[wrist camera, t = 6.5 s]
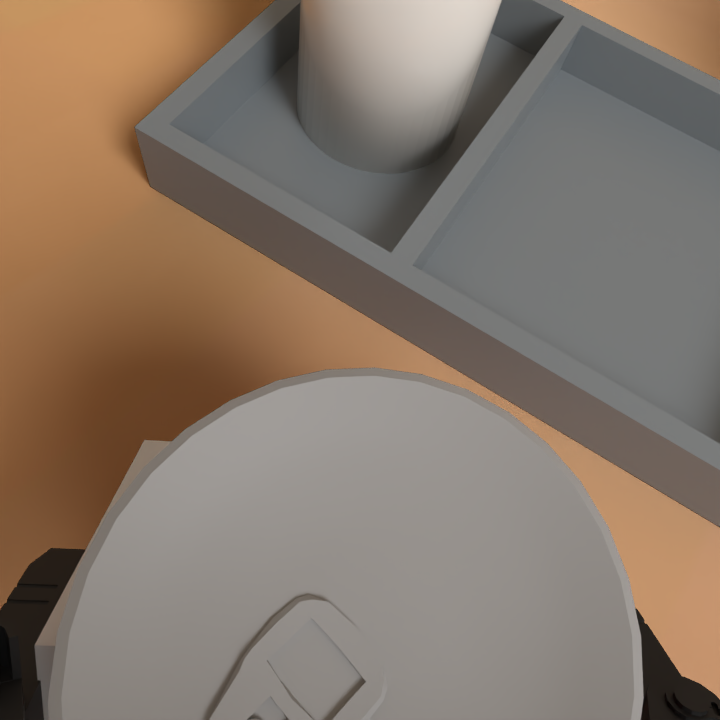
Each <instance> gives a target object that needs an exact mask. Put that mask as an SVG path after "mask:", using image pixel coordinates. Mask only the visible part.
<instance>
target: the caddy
mask: <svg viewBox="0 0 720 720" xmlns="http://www.w3.org/2000/svg"><path fill="white" fill-rule="evenodd" d="M300 6H301V0H275V1H274V2H273V3H272V4H270V5H269V6H268V7H267V8H266V9H265V10H264V11H263V12H262V13H260V14H259V15H258V16H257V17H256V18H255V19H254V20H253V21H252V22H250V23H249V24H248V25H247V26H246V27H245V28H244V29H243V30H242V31H240V32H239V33H238V34H237V35H236V36H235V37H234V38H233V39H232V40H230V41H229V42H228V43H227V44H226V45H225V46H224V47H223V48H222V49H220V50H219V51H218V52H217V53H216V54H215V55H214V56H213V57H212V58H210V59H209V60H208V61H207V62H206V63H205V64H204V65H203V66H202V67H200V68H199V69H198V70H197V71H196V72H195V73H194V74H193V75H192V76H191V77H189V78H188V79H187V80H186V81H185V82H184V83H183V84H182V85H181V86H179V87H178V88H177V89H176V90H175V91H174V92H173V93H172V94H171V95H169V96H168V97H167V98H166V99H165V100H164V101H163V102H162V103H161V104H159V105H158V106H157V107H156V108H155V109H154V110H153V111H152V112H151V113H149V114H148V115H147V116H146V117H145V118H144V119H143V120H142V121H141V122H139V123H138V124H137V125H136V126H135V127H134V128H135V132H136V135H137V139H138V143H139V146H140V150H141V154H142V158H143V161H144V165H145V169H146V173H147V176H148V180H149V184H150V187H152V188H154V189H155V190H157V191H159V192H160V193H162V194H164V195H165V196H167V197H169V198H170V199H172V200H174V201H176V202H177V203H179V204H181V205H182V206H184V207H186V208H187V209H189V210H191V211H192V212H194V213H196V214H197V215H199V216H201V217H202V218H204V219H206V220H207V221H209V222H211V223H212V224H214V225H216V226H217V227H219V228H221V229H222V230H224V231H226V232H227V233H229V234H231V235H232V236H234V237H236V238H237V239H239V240H241V241H242V242H244V243H246V244H247V245H249V246H251V247H252V248H254V249H256V250H257V251H259V252H261V253H262V254H264V255H266V256H267V257H269V258H271V259H272V260H274V261H276V262H277V263H279V264H281V265H282V266H284V267H286V268H288V269H289V270H291V271H293V272H294V273H296V274H298V275H299V276H301V277H303V278H304V279H306V280H308V281H309V282H311V283H313V284H314V285H316V286H318V287H319V288H321V289H323V290H324V291H326V292H328V293H329V294H331V295H333V296H334V297H336V298H338V299H339V300H341V301H343V302H344V303H346V304H348V305H349V306H351V307H353V308H354V309H356V310H358V311H359V312H361V313H363V314H364V315H366V316H368V317H369V318H371V319H373V320H374V321H376V322H378V323H379V324H381V325H383V326H384V327H386V328H388V329H389V330H391V331H393V332H394V333H396V334H398V335H400V336H401V337H403V338H405V339H406V340H408V341H410V342H411V343H413V344H415V345H416V346H418V347H420V348H421V349H423V350H425V351H426V352H428V353H430V354H431V355H433V356H435V357H436V358H438V359H440V360H441V361H443V362H445V363H446V364H448V365H450V366H451V367H453V368H455V369H456V370H458V371H460V372H461V373H463V374H465V375H466V376H468V377H470V378H471V379H473V380H475V381H476V382H478V383H480V384H481V385H483V386H485V387H486V388H488V389H490V390H491V391H493V392H495V393H496V394H498V395H500V396H501V397H503V398H505V399H506V400H508V401H510V402H512V403H513V404H515V405H517V406H518V407H520V408H522V409H523V410H525V411H527V412H528V413H530V414H532V415H533V416H535V417H537V418H538V419H540V420H542V421H543V422H545V423H547V424H548V425H550V426H552V427H553V428H555V429H557V430H558V431H560V432H562V433H563V434H565V435H567V436H568V437H570V438H572V439H573V440H575V441H577V442H578V443H580V444H582V445H583V446H585V447H587V448H588V449H590V450H592V451H593V452H595V453H597V454H598V455H600V456H602V457H603V458H605V459H607V460H608V461H610V462H612V463H613V464H615V465H617V466H618V467H620V468H622V469H623V470H625V471H627V472H629V473H630V474H632V475H634V476H635V477H637V478H639V479H640V480H642V481H644V482H645V483H647V484H649V485H650V486H652V487H654V488H655V489H657V490H659V491H660V492H662V493H664V494H665V495H667V496H669V497H670V498H672V499H674V500H675V501H677V502H679V503H680V504H682V505H684V506H685V507H687V508H689V509H690V510H692V511H694V512H695V513H697V514H699V515H700V516H702V517H704V518H705V519H707V520H709V521H710V522H712V523H714V524H715V525H717V526H719V527H720V80H718V79H716V78H714V77H712V76H710V75H708V74H706V73H704V72H702V71H700V70H698V69H696V68H694V67H692V66H690V65H688V64H686V63H684V62H682V61H680V60H678V59H676V58H674V57H672V56H670V55H668V54H666V53H664V52H662V51H660V50H658V49H656V48H654V47H652V46H650V45H648V44H646V43H644V42H642V41H640V40H638V39H636V38H634V37H632V36H630V35H628V34H626V33H624V32H622V31H620V30H618V29H616V28H614V27H612V26H610V25H608V24H606V23H604V22H602V21H600V20H598V19H596V18H595V17H593V16H591V15H589V14H587V13H585V12H583V11H581V10H579V9H577V8H575V7H573V6H571V5H569V4H567V3H565V2H563V1H561V0H502V1H501V4H500V7H499V10H498V13H497V16H496V18H495V21H494V24H493V27H492V30H491V33H490V36H489V39H488V42H487V45H486V48H485V50H484V53H483V56H482V59H481V62H480V65H479V68H478V71H477V74H476V77H475V79H474V82H473V85H472V88H471V91H470V94H469V97H468V100H467V103H466V106H465V109H464V111H463V114H462V117H461V120H460V123H459V126H458V129H457V132H456V135H455V137H454V140H453V142H452V143H451V145H450V147H449V148H448V149H447V150H446V152H445V153H444V154H443V155H442V156H440V157H439V158H438V159H437V160H435V161H434V162H432V163H430V164H429V165H427V166H424V167H422V168H420V169H416V170H413V171H410V172H404V173H395V174H381V173H372V172H366V171H362V170H358V169H354V168H352V167H349V166H346V165H344V164H342V163H340V162H338V161H336V160H334V159H333V158H331V157H329V156H328V155H326V154H325V153H324V152H323V151H321V150H320V149H319V148H318V147H317V146H316V145H315V144H314V143H313V142H312V141H311V140H310V138H309V137H308V136H307V134H306V133H305V131H304V129H303V127H302V126H301V123H300V120H299V117H298V112H297V86H298V59H299V33H300Z"/></svg>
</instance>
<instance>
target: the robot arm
mask: <svg viewBox="0 0 720 720" xmlns="http://www.w3.org/2000/svg"><path fill="white" fill-rule="evenodd" d="M171 442H172V441H155V440H144V442H143V444H142V445H141V447H140V449H139V451H138V453H137V455H136V457H135V458H134V460H133V462H132V464H131V466H130V468H129V470H128V472H127V473H126V475H125V477H124V479H123V481H122V483H121V485H120V486H119V488H118V490H117V492H116V494H115V496H114V498H113V500H112V501H111V503H110V505H109V507H108V509H107V511H106V513H105V514H104V516H103V518H102V520H101V522H100V524H99V526H98V528H97V529H96V531H95V533H94V535H93V537H92V539H91V541H90V543H89V544H88V546H87V548H86V550H83V549H60V548H51V549H49V550H48V551H47V552H45V553H44V554H43V555H42V556H40V557H39V558H38V559H36V560H35V561H34V562H32V563H31V564H30V565H29V566H28V568H27V569H26V571H25V573H24V574H23V576H22V577H21V579H20V580H19V582H18V583H17V587H15V588H14V590H13V591H12V593H11V594H10V596H9V597H8V599H7V603H5V604H4V605H3V607H2V608H1V610H0V720H49V713H48V696H49V689H50V681H51V674H52V666H53V659H54V651H55V644H56V636H57V631H58V628H59V625H60V622H61V619H62V616H63V613H64V610H65V607H66V604H67V601H68V597H69V594H70V591H71V588H72V585H73V582H74V579H75V576H76V573H77V570H78V568H79V566H80V564H81V562H82V560H83V559H84V557H85V555H86V553H87V551H88V549H89V547H90V545H91V543H92V542H93V540H94V538H95V536H96V534H97V532H98V530H99V528H100V527H101V525H102V523H103V521H104V519H105V517H106V515H107V514H108V512H109V511H110V510H111V509H112V507H113V506H114V505H115V503H116V502H117V501H118V500H119V498H120V497H121V496H122V494H123V493H124V492H125V491H126V489H127V488H128V487H129V485H130V484H131V483H132V481H133V480H134V479H135V478H136V476H137V475H138V474H139V472H140V471H141V470H142V469H143V467H144V466H146V465H147V464H148V463H149V462H150V461H151V460H152V459H153V458H154V457H155V456H156V455H158V454H159V453H160V452H161V451H162V450H163V449H164V448H165V447H166V446H167V445H168V444H170V443H171ZM635 610H636V615H637V619H638V624H639V629H640V634H641V647H642V672H643V696H644V698H643V706H642V714H641V720H720V700H719V698H718V697H717V696H716V695H715V694H714V693H712V692H711V691H709V690H708V689H707V688H705V687H704V686H702V685H701V684H699V683H697V682H695V681H692V680H690V679H688V678H686V677H682V676H681V675H680V673H679V672H678V670H677V669H676V667H675V666H674V664H673V663H672V661H671V660H670V658H669V657H668V655H667V654H666V652H665V651H664V649H663V648H662V646H661V644H660V643H659V641H658V640H657V638H656V637H655V635H654V634H653V632H652V631H651V629H650V628H649V626H648V625H647V624H645V623H644V619H643V617H642V616H641V614H640V613H639V611H638V610H637V609H635Z"/></svg>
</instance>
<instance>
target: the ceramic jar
mask: <svg viewBox="0 0 720 720" xmlns="http://www.w3.org/2000/svg"><path fill="white" fill-rule="evenodd" d="M501 1H502V0H301V6H300V33H299V59H298V86H297V112H298V117H299V120H300V123H301V126H302V127H303V129H304V131H305V133H306V134H307V136H308V137H309V138H310V140H311V141H312V142H313V143H314V144H315V145H316V146H317V147H318V148H319V149H320V150H321V151H323V152H324V153H325V154H326V155H328V156H329V157H331V158H333V159H334V160H336V161H338V162H340V163H342V164H344V165H346V166H349V167H352V168H354V169H358V170H362V171H366V172H372V173H381V174H395V173H404V172H410V171H413V170H416V169H420V168H422V167H424V166H427V165H429V164H430V163H432V162H434V161H435V160H437V159H438V158H439V157H440V156H442V155H443V154H444V153H445V152H446V150H447V149H448V148H449V147H450V145H451V143H452V142H453V140H454V137H455V135H456V132H457V129H458V126H459V123H460V120H461V117H462V114H463V111H464V109H465V106H466V103H467V100H468V97H469V94H470V91H471V88H472V85H473V82H474V79H475V77H476V74H477V71H478V68H479V65H480V62H481V59H482V56H483V53H484V50H485V48H486V45H487V42H488V39H489V36H490V33H491V30H492V27H493V24H494V21H495V18H496V16H497V13H498V10H499V7H500V4H501Z"/></svg>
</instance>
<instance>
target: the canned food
mask: <svg viewBox="0 0 720 720" xmlns="http://www.w3.org/2000/svg"><path fill="white" fill-rule="evenodd" d="M643 698H644V696H643V672H642V647H641V634H640V629H639V624H638V619H637V615H636V610H635V605H634V601H633V596H632V591H631V586H630V582H629V578H628V575H627V573H626V570H625V568H624V565H623V563H622V560H621V558H620V555H619V553H618V550H617V548H616V545H615V543H614V540H613V537H612V535H611V532H610V530H609V527H608V526H607V524H606V522H605V521H604V519H603V517H602V516H601V514H600V512H599V511H598V509H597V507H596V506H595V504H594V503H593V501H592V499H591V498H590V496H589V494H588V493H587V491H586V489H585V488H584V486H583V484H582V483H581V481H580V480H579V479H578V478H577V477H576V476H575V474H574V473H573V472H572V471H571V470H570V469H569V468H568V466H567V465H566V464H565V463H564V462H563V461H562V460H561V458H560V457H559V456H558V455H557V454H556V453H555V452H554V450H553V449H552V448H551V447H550V446H549V445H548V444H547V443H546V442H545V441H544V440H543V439H541V438H540V437H539V436H538V435H536V434H535V433H534V432H533V431H531V430H530V429H529V428H528V427H526V426H525V425H524V424H523V423H521V422H520V421H519V420H518V419H517V418H515V417H514V416H513V415H512V414H510V413H509V412H507V411H505V410H504V409H502V408H500V407H498V406H496V405H495V404H493V403H491V402H489V401H487V400H485V399H484V398H482V397H480V396H478V395H476V394H474V393H473V392H471V391H469V390H467V389H464V388H461V387H458V386H455V385H452V384H449V383H446V382H443V381H440V380H437V379H434V378H431V377H428V376H425V375H422V374H416V373H409V372H402V371H394V370H387V369H380V368H354V369H330V370H322V371H318V372H313V373H309V374H304V375H300V376H295V377H291V378H286V379H282V380H278V381H275V382H273V383H270V384H268V385H266V386H263V387H261V388H259V389H256V390H254V391H251V392H249V393H247V394H244V395H242V396H239V397H237V398H235V399H232V400H230V401H228V402H227V403H225V404H224V405H222V406H221V407H219V408H218V409H216V410H214V411H213V412H211V413H210V414H208V415H207V416H205V417H203V418H202V419H200V420H199V421H197V422H196V423H194V424H193V425H191V426H189V427H188V428H186V429H185V430H184V431H183V432H182V433H180V434H179V435H178V436H177V437H176V438H175V439H174V440H173V441H172V442H171V443H170V444H168V445H167V446H166V447H165V448H164V449H163V450H162V451H161V452H160V453H159V454H158V455H156V456H155V457H154V458H153V459H152V460H151V461H150V462H149V463H148V464H147V465H146V466H144V467H143V469H142V470H141V471H140V472H139V474H138V475H137V476H136V478H135V479H134V480H133V481H132V483H131V484H130V485H129V487H128V488H127V489H126V491H125V492H124V493H123V494H122V496H121V497H120V498H119V500H118V501H117V502H116V503H115V505H114V506H113V507H112V509H111V510H110V511H109V512H108V514H107V515H106V517H105V519H104V521H103V523H102V525H101V527H100V528H99V530H98V532H97V534H96V536H95V538H94V540H93V542H92V543H91V545H90V547H89V549H88V551H87V553H86V555H85V557H84V559H83V560H82V562H81V564H80V566H79V568H78V570H77V573H76V576H75V579H74V582H73V585H72V588H71V591H70V594H69V597H68V601H67V604H66V607H65V610H64V613H63V616H62V619H61V622H60V625H59V628H58V631H57V636H56V644H55V651H54V659H53V666H52V674H51V681H50V689H49V696H48V713H49V720H641V714H642V706H643Z"/></svg>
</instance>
